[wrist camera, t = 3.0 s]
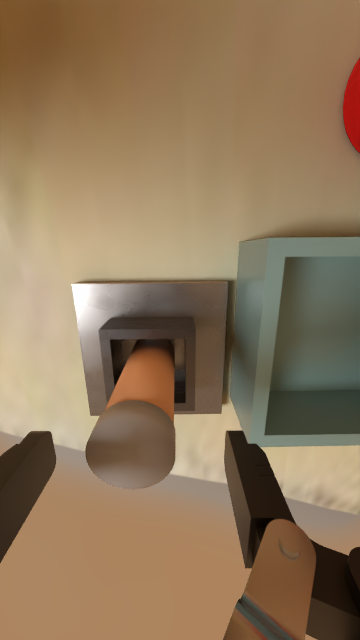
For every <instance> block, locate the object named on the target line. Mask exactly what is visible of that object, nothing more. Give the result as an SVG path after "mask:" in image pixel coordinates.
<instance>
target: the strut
mask: <svg viewBox="0 0 360 640" xmlns="http://www.w3.org/2000/svg"><path fill="white" fill-rule="evenodd" d="M174 374H175V351H174V348H173V346H172V344H171V343H170V342H169V341H168V340H167V339H139V340H138V341H137V342H136V343H135V345H134V347H133V349H132V351H131V354H130V356H129V358H128V360H127V362H126V365H125V367H124V369H123V371H122V373H121V375H120V378H119V380H118V382H117V384H116V386H115V389H114V391H113V393H112V395H111V397H110V400H109V402H108V404H107V406H106V408H105V411H104V412H103V413H102V414H101V415H100V417H99V419H98V421H97V423H96V425H95V427H94V429H93V431H92V433H91V436H90V438H89V440H88V442H87V445H86V459H87V463H88V465H89V467H90V468H91V470H92V471H93V473H94V474H95V475H96V476H97V477H98V478H100V479H101V480H102V481H104V482H106V483H107V484H110V485H112V486H115V487H118V488H123V489H142V488H147V487H150V486H152V485H155V484H157V483H159V482H160V481H162V480H163V479H164V478H165V477H166V476H167V475H168V474H169V473H170V471H171V470H172V468H173V465H174V462H175V427H174Z"/></svg>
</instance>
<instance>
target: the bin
mask: <svg viewBox="0 0 360 640" xmlns="http://www.w3.org/2000/svg"><path fill="white" fill-rule="evenodd" d="M230 398H231V400H232V403H233V406H234V409H235V411H236V414H237V417H238V419H239V422H240V425H241V428H242V430H243V432H244V434H245V437H246V440H247V442H248V444H255V443H256V444H257V445H258V446H259V447H292V446H348V445H360V237H284V238H263V239H257V240H250V241H244V242H240V243H239V259H238V275H237V291H236V307H235V323H234V339H233V355H232V371H231V387H230Z"/></svg>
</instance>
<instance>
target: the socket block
mask: <svg viewBox="0 0 360 640" xmlns="http://www.w3.org/2000/svg"><path fill="white" fill-rule="evenodd" d="M72 289H73V296H74V303H75V310H76V317H77V324H78V331H79V338H80V345H81V352H82V359H83V366H84V373H85V380H86V387H87V394H88V401H89V408H90V415H91V416H100V415H101V414H102V413H103V412H104V411H105V408H106V406H107V404H108V402H109V400H110V397H111V395H112V393H113V391H114V389H115V386H116V384H117V382H118V380H119V378H120V375H121V373H122V371H123V369H124V367H125V365H126V362H127V360H128V358H129V356H130V354H131V351H132V349H133V347H134V345H135V343H136V342H137V341H138V340H139V339H167V340H168V341H169V342H170V343H171V344H172V346H173V348H174V351H175V374H174V414H221V412H222V393H223V373H224V354H225V334H226V315H227V295H228V282H226V281H150V282H77V283H74V284H72Z"/></svg>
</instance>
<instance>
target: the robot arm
mask: <svg viewBox="0 0 360 640" xmlns="http://www.w3.org/2000/svg"><path fill="white" fill-rule="evenodd" d="M224 464H225V472H226V477H227V482H228V487H229V491H230V496H231V501H232V506H233V511H234V516H235V520H236V525H237V530H238V535H239V540H240V545H241V549H242V554H243V559H244V564H245V568H252V571H251V573H250V576H249V579H248V582H247V584H246V587H245V590H244V593H243V595H242V597H241V599H239V600H238V602H237V604H236V606H235V608H234V611H233V613H232V616H231V619H230V622H229V625H228V627H227V630H226V633H225V636H224V639H223V640H305V634H307V635H309V636H311V637H313V638H316V639H318V640H360V547H356V548H354V549H352V550H351V552H350V554H349V556H348V555H345V554H342V553H340V552H337V551H334V550H332V549H329V548H326V547H323V546H321V545H319V544H317V543H316V542H314V541H312V540H311V539H310V538H309V537H308V536H307V535H306V534H305V532H304V531H303V530H302V529H301V528H300V527H299V526H297V524H296V523H295V521H294V519H293V517H292V515H291V512H290V510H289V508H288V505H287V503H286V501H285V498H284V496H283V494H282V491H281V489H280V487H279V484H278V482H277V480H276V477H275V476H274V473H273V470H272V468H271V467H270V463H269V461H268V459H267V456H266V454H265V452H264V451H263V450H262V449H261V448H260V447H259V446H258V445H257V444H256V443H255V444H248V442H247V440H246V437H245V434H244V432H243V431H226V437H225V454H224ZM55 465H56V455H55V449H54V444H53V439H52V434H51V432H50V431H31V432H30V433H29V434H28V435H27V436H26V437H25V438H24V439H23V441H22V442H21V443H20V444H16V445H15V446H13V447H12V448H10V449H9V450H7V451H6V452H5V453H4V454H2V455H1V456H0V563H1V561H2V559H3V557H4V556H5V554H6V552H7V551H8V549H9V547H10V546H11V544H12V542H13V540H14V539H15V537H16V535H17V534H18V531H19V530H20V528H21V527H22V525H23V523H24V522H25V520H26V518H27V516H28V515H29V513H30V511H31V509H32V507H33V506H34V504H35V502H36V501H37V499H38V497H39V496H40V494H41V492H42V490H43V489H44V487H45V485H46V484H47V482H48V480H49V479H50V477H51V475H52V473H53V471H54V468H55Z"/></svg>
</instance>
